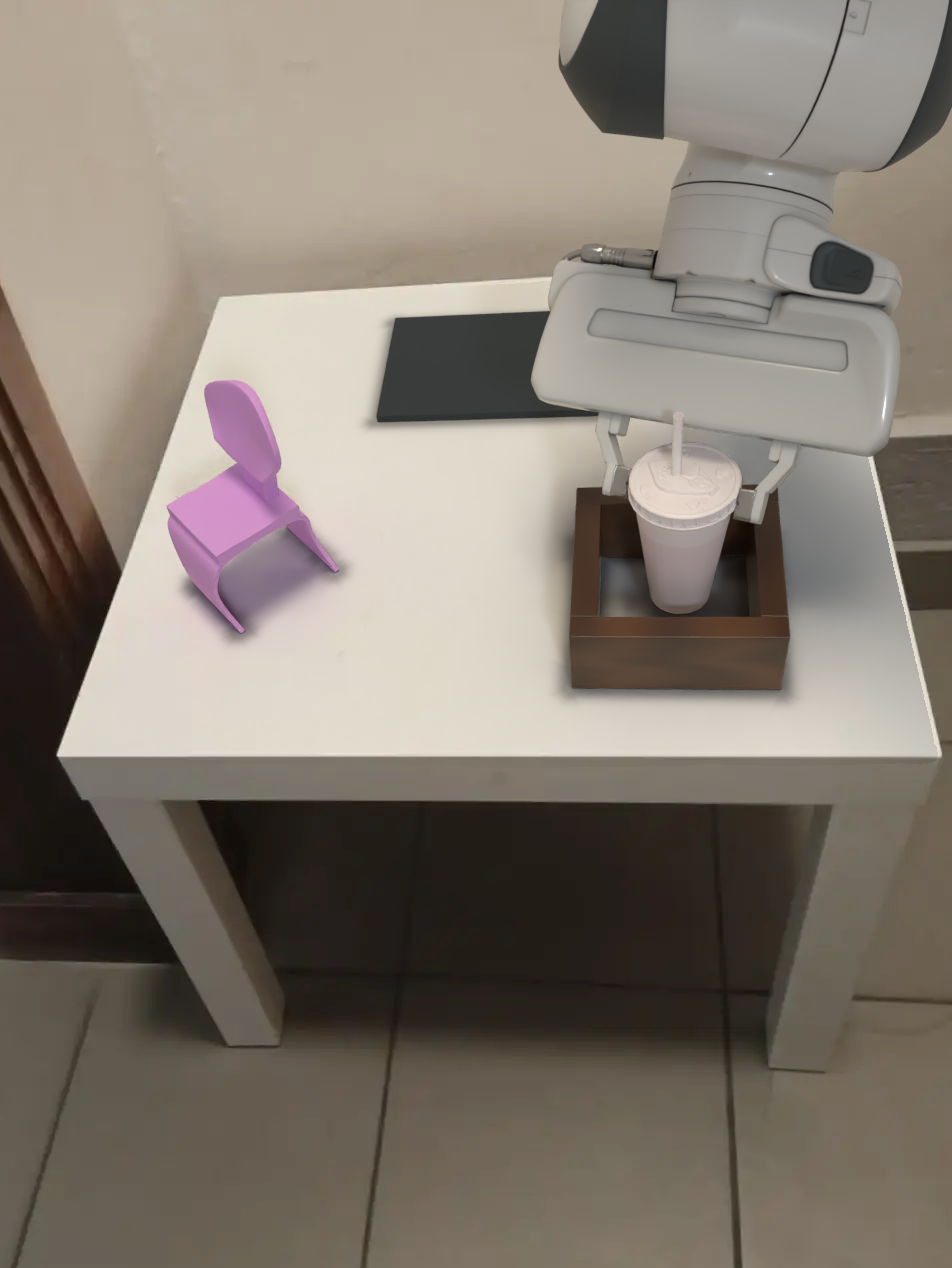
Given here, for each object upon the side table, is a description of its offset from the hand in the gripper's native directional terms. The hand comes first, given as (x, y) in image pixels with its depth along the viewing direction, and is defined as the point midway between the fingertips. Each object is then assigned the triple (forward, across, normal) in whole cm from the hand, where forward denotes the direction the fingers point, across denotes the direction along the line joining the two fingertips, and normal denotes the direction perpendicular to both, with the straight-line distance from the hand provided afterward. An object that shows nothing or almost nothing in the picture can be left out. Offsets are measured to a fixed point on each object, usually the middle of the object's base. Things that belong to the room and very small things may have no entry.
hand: (681, 509), depth 70 cm
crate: (+6, 0, +7) cm, 10 cm away
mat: (-8, -20, +21) cm, 30 cm away
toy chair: (+10, -28, +3) cm, 30 cm away
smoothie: (+5, 0, +6) cm, 8 cm away
